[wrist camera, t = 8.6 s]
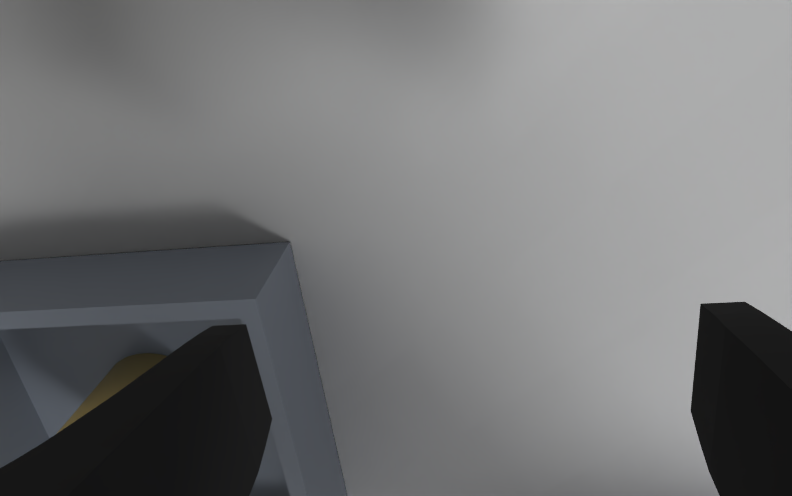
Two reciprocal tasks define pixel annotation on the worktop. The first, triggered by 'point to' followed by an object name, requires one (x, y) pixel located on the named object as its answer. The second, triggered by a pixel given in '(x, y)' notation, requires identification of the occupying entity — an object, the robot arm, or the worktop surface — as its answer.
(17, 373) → the bin
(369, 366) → the worktop surface
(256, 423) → the robot arm
